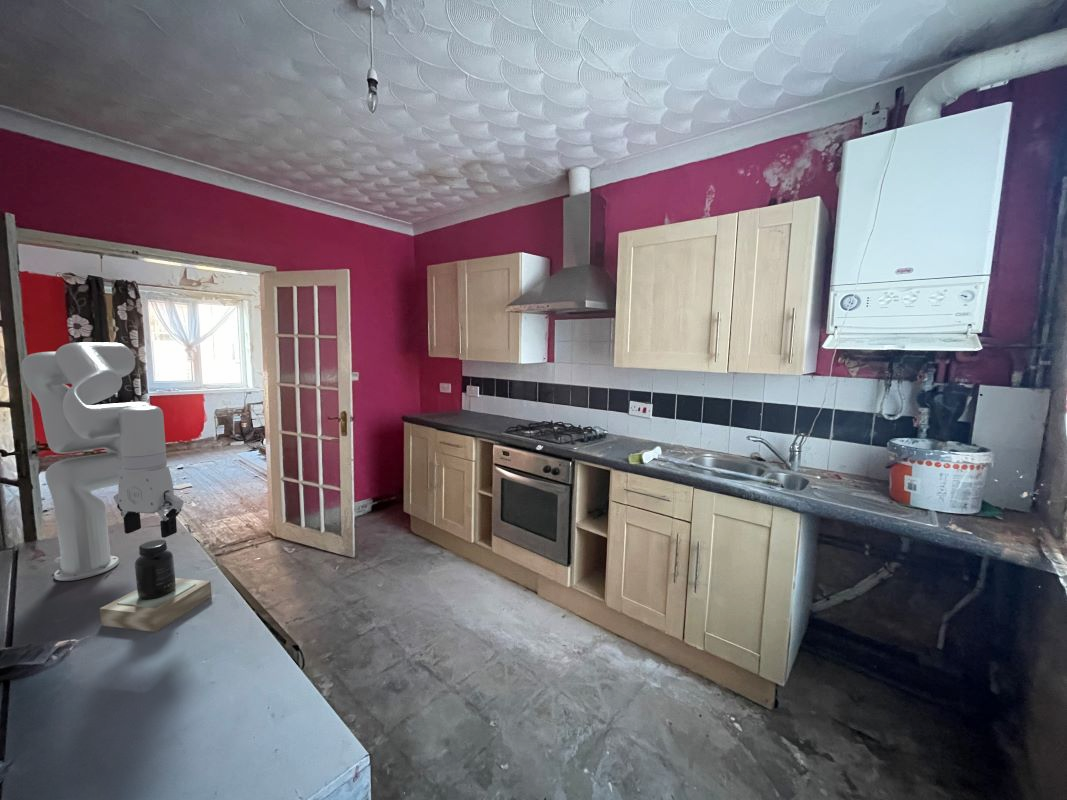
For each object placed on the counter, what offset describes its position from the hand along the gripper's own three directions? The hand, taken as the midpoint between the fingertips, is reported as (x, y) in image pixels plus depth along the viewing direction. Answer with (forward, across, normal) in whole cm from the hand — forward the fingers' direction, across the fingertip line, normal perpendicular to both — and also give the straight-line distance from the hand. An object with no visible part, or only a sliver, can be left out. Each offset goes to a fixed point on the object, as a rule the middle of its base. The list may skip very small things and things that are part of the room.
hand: (151, 533), depth 102 cm
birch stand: (+19, +1, 0) cm, 19 cm away
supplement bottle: (+15, +1, 0) cm, 15 cm away
